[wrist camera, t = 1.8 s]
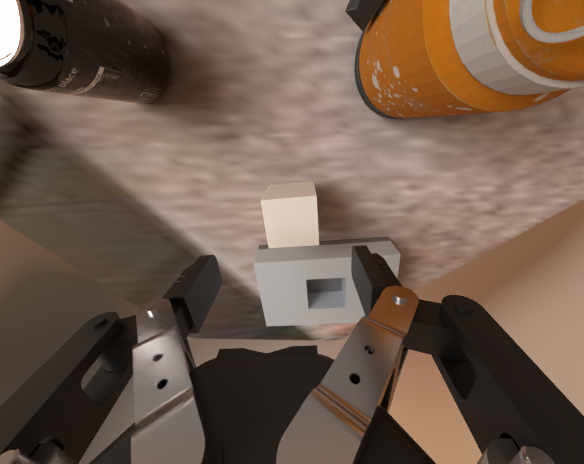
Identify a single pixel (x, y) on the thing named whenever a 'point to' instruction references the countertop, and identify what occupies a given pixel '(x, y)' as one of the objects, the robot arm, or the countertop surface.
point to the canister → (466, 54)
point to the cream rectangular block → (291, 215)
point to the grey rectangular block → (314, 281)
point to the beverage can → (82, 49)
